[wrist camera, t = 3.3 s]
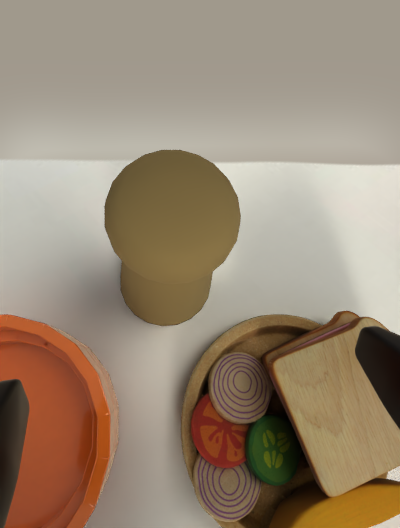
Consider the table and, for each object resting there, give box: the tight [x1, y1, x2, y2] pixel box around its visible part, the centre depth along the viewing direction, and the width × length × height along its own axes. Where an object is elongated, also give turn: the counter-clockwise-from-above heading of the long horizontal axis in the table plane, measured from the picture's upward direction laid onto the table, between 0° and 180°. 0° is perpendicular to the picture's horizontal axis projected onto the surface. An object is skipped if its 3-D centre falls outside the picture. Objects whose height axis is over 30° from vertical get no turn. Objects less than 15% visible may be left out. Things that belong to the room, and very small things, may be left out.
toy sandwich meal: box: [181, 311, 400, 528], centre depth 17 cm, size 12×14×5 cm
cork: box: [105, 150, 241, 326], centre depth 16 cm, size 6×6×11 cm
